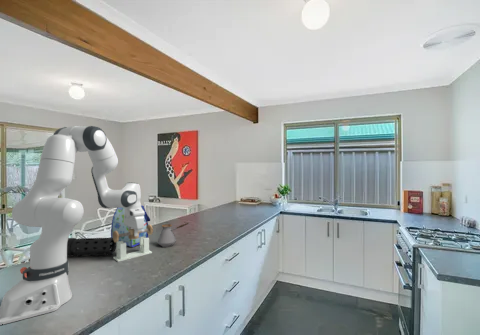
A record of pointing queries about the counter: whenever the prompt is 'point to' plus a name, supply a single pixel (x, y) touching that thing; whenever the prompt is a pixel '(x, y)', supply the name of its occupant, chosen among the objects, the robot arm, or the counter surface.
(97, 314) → the counter surface
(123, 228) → the lunch bag
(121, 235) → the brown block with rod
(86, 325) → the counter surface
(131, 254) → the brackets
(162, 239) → the coffee pot
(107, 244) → the black foam roller
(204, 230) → the counter surface
